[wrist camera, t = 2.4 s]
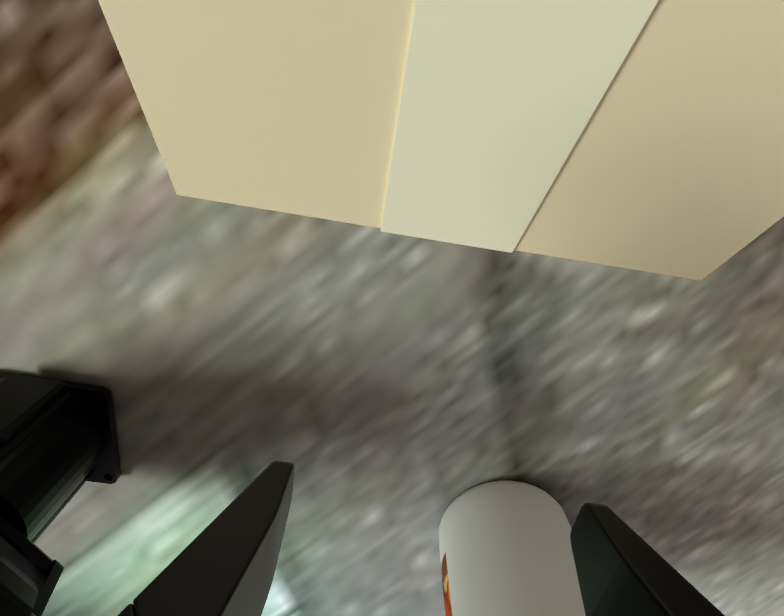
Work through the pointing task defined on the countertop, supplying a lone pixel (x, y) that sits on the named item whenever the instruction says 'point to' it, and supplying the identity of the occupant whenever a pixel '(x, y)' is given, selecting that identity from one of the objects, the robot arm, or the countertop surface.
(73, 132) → the countertop surface
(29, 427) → the robot arm
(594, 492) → the countertop surface
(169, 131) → the lid
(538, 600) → the milk bottle
